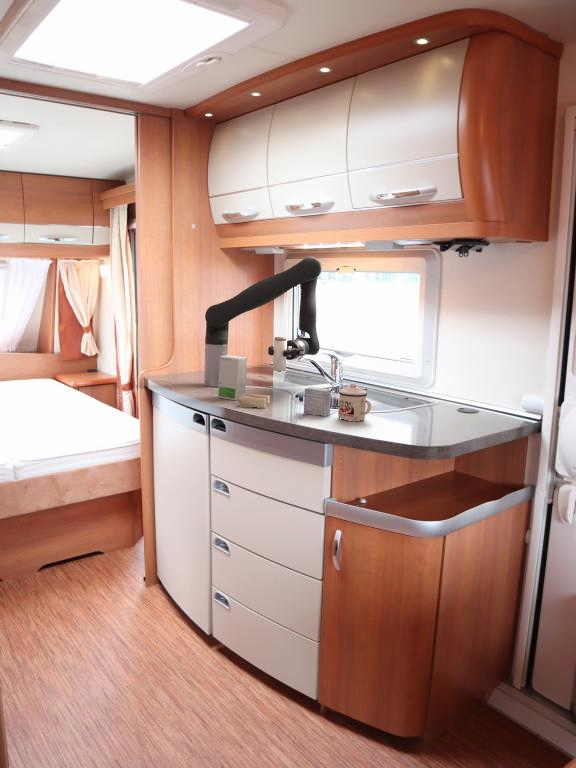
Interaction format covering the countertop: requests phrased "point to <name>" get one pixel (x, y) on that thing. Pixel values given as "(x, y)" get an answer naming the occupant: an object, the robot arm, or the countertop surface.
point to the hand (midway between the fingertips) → (277, 353)
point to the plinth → (254, 400)
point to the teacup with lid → (353, 403)
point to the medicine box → (317, 401)
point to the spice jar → (279, 354)
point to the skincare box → (232, 377)
